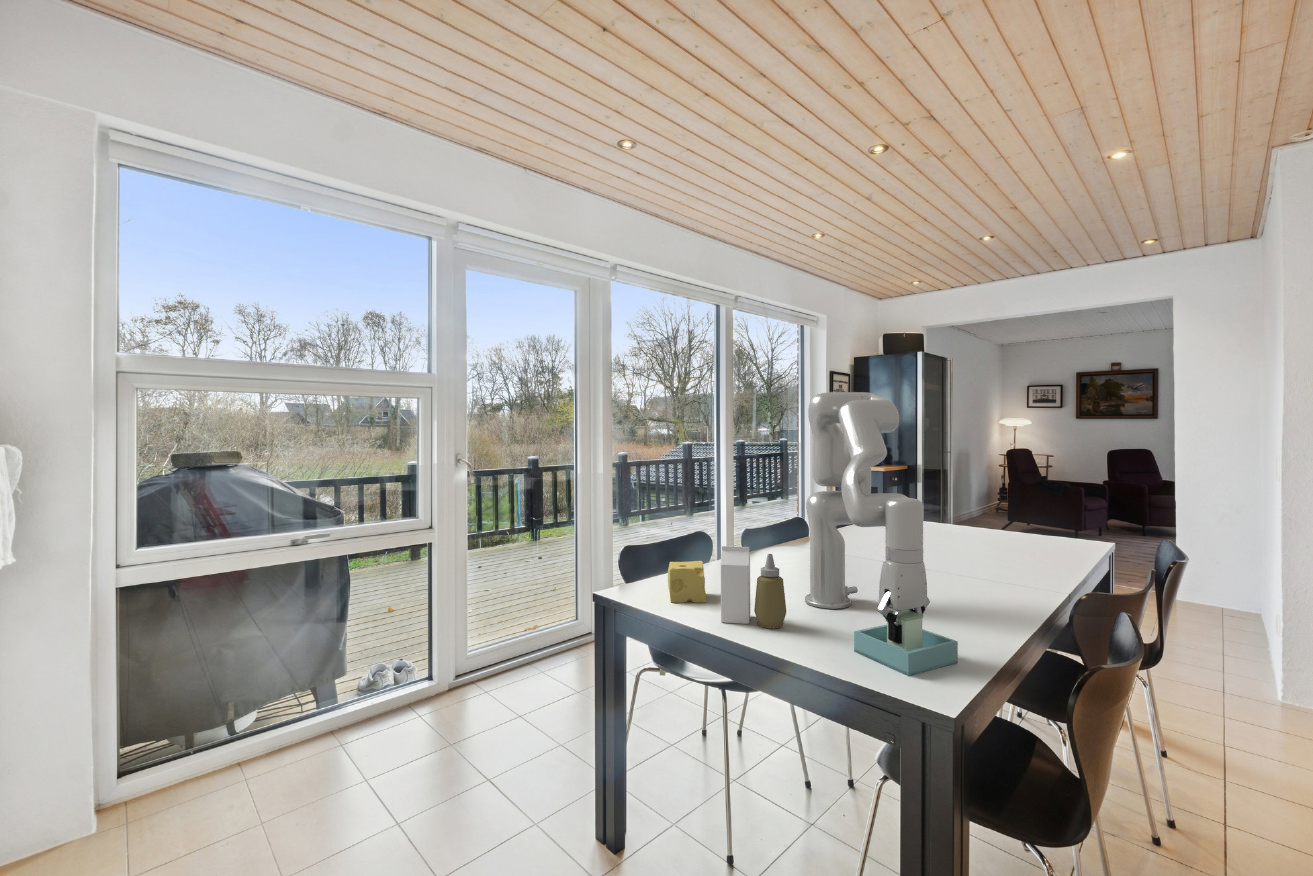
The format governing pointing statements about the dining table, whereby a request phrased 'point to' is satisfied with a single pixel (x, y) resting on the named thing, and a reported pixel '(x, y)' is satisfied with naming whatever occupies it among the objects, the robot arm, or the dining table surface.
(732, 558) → the milk carton
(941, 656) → the bin
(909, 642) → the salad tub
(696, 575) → the cheese
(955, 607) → the dining table surface
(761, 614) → the squeeze bottle
